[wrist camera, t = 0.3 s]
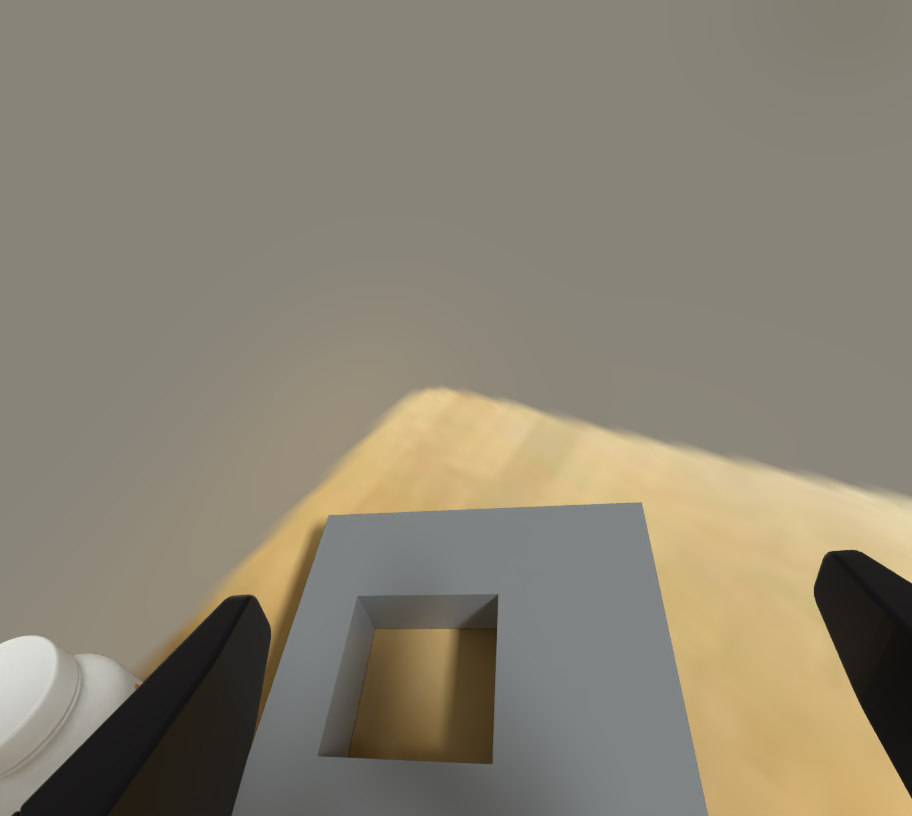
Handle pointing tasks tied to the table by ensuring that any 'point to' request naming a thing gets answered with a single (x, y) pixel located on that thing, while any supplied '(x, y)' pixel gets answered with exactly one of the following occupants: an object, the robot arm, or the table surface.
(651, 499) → the table surface
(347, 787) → the holder
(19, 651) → the supplement bottle
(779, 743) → the table surface
